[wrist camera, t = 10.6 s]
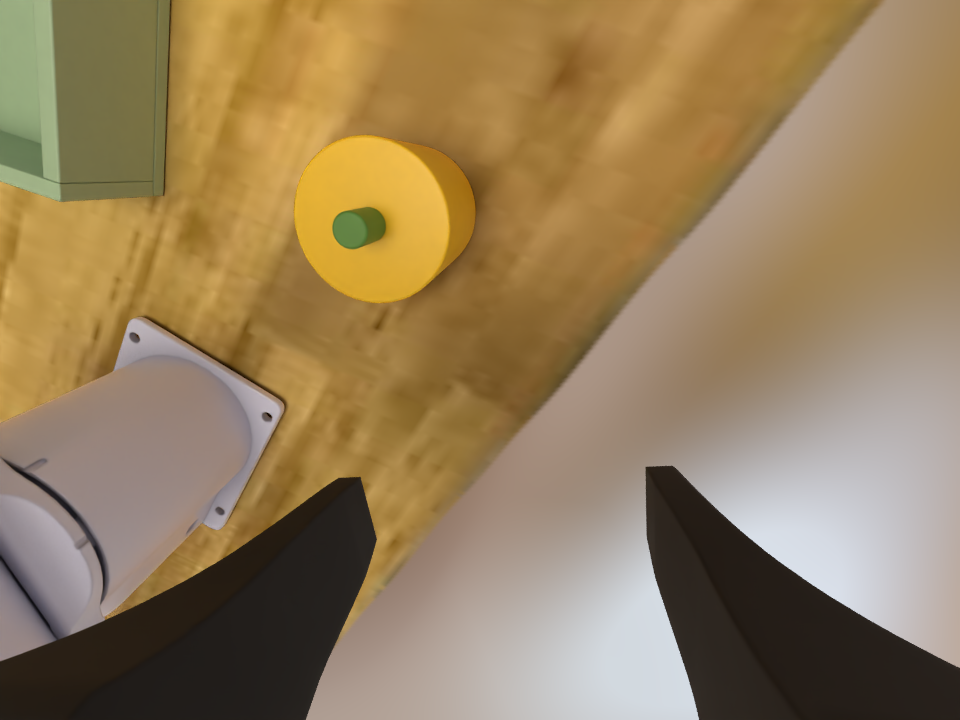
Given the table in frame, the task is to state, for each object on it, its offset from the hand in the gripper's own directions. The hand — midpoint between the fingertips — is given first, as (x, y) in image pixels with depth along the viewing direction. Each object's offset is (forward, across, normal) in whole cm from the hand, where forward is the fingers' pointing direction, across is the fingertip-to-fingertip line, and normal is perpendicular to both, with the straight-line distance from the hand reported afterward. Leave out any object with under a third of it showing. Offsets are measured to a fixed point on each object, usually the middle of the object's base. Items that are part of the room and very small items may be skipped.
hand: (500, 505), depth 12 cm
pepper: (+9, +4, -7) cm, 12 cm away
